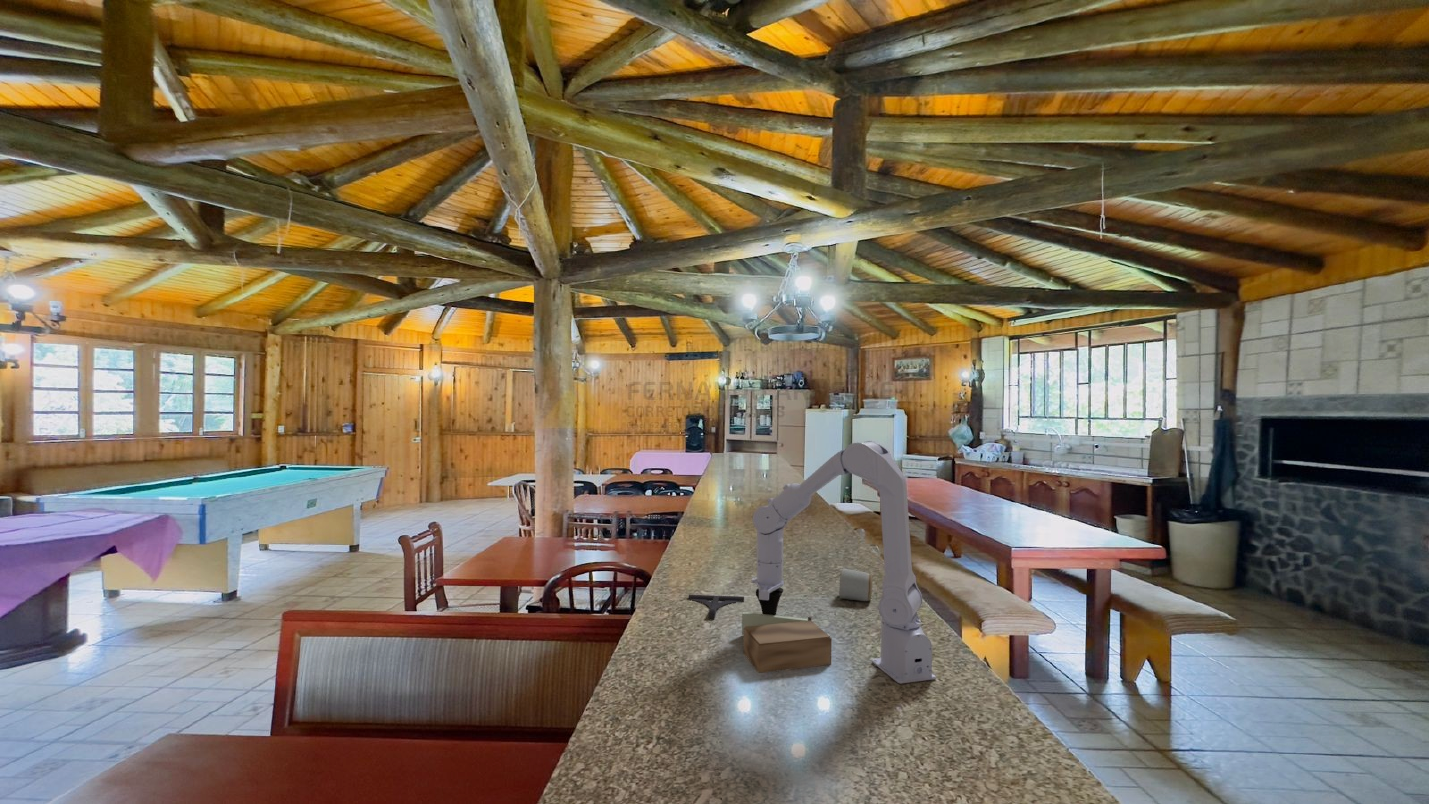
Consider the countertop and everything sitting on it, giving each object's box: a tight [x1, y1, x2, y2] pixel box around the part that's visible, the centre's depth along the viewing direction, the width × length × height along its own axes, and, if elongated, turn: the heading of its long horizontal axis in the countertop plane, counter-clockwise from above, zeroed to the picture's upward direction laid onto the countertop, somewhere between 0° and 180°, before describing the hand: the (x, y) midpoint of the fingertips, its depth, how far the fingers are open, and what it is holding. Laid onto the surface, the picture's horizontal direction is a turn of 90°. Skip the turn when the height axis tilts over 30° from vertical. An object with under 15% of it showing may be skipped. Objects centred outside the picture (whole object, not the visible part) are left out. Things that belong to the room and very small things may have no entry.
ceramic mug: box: [838, 567, 873, 602], centre depth 148 cm, size 11×8×8 cm
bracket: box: [688, 594, 745, 620], centre depth 138 cm, size 14×15×3 cm
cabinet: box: [742, 616, 833, 674], centre depth 111 cm, size 10×15×6 cm, turn 106°
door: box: [741, 611, 808, 636], centre depth 120 cm, size 14×2×5 cm, turn 75°
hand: (769, 622), depth 121 cm, fingers closed
